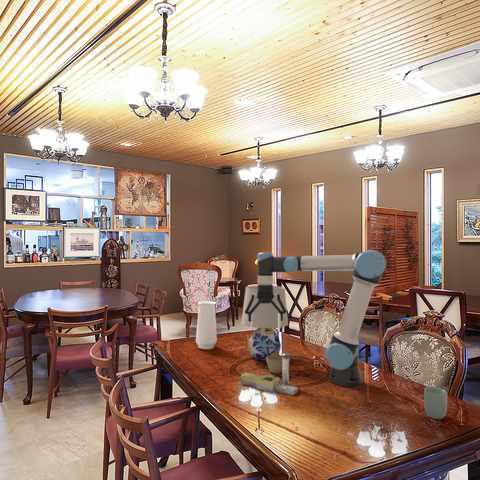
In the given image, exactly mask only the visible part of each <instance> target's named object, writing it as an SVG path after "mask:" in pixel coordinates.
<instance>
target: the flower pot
mask: <svg viewBox="0 0 480 480" xmlns="http://www.w3.org/2000/svg"><path fill="white" fill-rule="evenodd" d="M265 361H266V364H267V367H268V369H269V371H270V373H272V374H275V375H276V374H280V373H281V374H282V362H283V357H282V355H277V356H275V355H273V356H268V357H266V360H265Z"/></svg>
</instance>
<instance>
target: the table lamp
mask: <svg viewBox="0 0 480 480" xmlns="http://www.w3.org/2000/svg"><path fill="white" fill-rule="evenodd" d="M244 292H245V293H244V298H243V299H244V301H243V307H242V309H243V310H242V315H241V316H242V317H241V324H242V325H243V326H246V327H250V328H251V322H249V320H248V314H245V310H246V308H247V306H248V303H249V301H250V299H251V295H252V294H253V295H257V294H258V285H249V286H245V291H244ZM273 294H274V295H275V294H279V295H280V300H281V302H282V303H283V305H284V307H285V309H286V313H284V314H283V321H281V328H285V327H287V326H288V325H289V319H288V310H287V309H288V307H287V301H286V289H285V287H283V286H277V285H273ZM257 301H258V298H257V297H256V298H255V299H254V300H253V303H252V305H251V307H250V309H249V311H250V310H251V309H252V307H253V306H254V305H255V304H256V303H257ZM272 301H273V302H274V303H275V304H276V305H277V306H278V308H279V309H280V310H281V311H283V310H282V308H281V306H280V304H279V302H278V300H277V299H276V298H275V297H274V298H273V299H272ZM249 311H248V312H249ZM278 314H280V313H279V312H278V311H277V309H276V308H275V307H274V306H273V305H272V304H271V302H270V303H269V304H267V303H265V304H262V303H260V304H259V305H258V307H257V308H256V309H255V310H254V312H253V313H252V315H253V328H256V329H255V330H254V331H253V332H252V334H251V335H250V337H249V339H248V343H247V349H248V351H249V353H250V355H251V357H252V358H254V359H256V360H260V361H261V360H262V361H267V360H266V357H268V356H273V355H275V356H279V353H280V352H281V349H282V348H281V346H282V345H281V340H280V337H279V335H278V334H277V332H276V331H275V330H274V329H278V328H279V327H278ZM279 329H280V328H279Z"/></svg>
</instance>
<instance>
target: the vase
mask: <svg viewBox="0 0 480 480" xmlns="http://www.w3.org/2000/svg"><path fill="white" fill-rule="evenodd" d="M197 304H198V311H197V312H198V313H197V322H196V323H197V324H196V336H195V343H196V344H197V347H198V349H201V350H212V349H214V348H215V344H217V340H218V337H217V335H218V334H217V318H216V316H217V315H216V304H217V302H216V301H206V300H205V301H198V302H197Z"/></svg>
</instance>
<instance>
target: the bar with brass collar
mask: <svg viewBox="0 0 480 480" xmlns="http://www.w3.org/2000/svg"><path fill="white" fill-rule="evenodd" d="M240 384H241V385H245V386H247V387H248V386H249V387H253V388H256V390H260V391H264V392H269V393H275V392H277V393H281V394H286V395H290V396H295V395H296V394H297V393H298V387H297V386H293V385H284V384H282V383H281V377H276V376H272V375H266V374H264V375H259V374H256V373H255V374H254V373H249V372H244V373H243V374H241V375H240Z"/></svg>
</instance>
